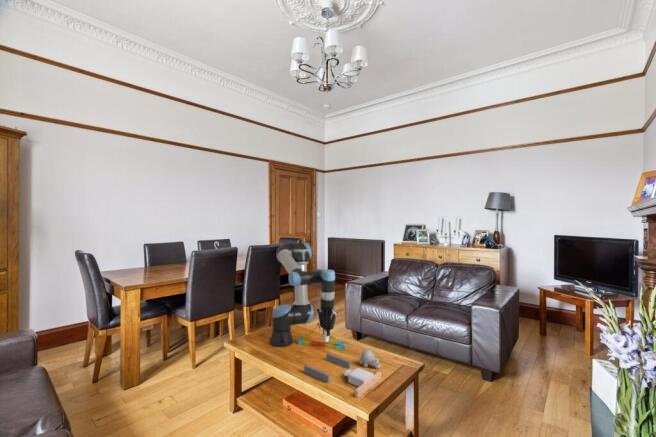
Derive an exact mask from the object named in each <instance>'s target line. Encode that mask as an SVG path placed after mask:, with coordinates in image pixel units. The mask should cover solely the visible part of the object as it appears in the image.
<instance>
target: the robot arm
mask: <svg viewBox="0 0 656 437" xmlns="http://www.w3.org/2000/svg"><path fill="white" fill-rule="evenodd" d="M275 255H276V256H275V257H276V259H277V261H278V262H279V263H281V264H282V266H283V267H284V269H285V270H286V273H288V283H289V285H290V286H292V287H294V302H293V303H292V306H291V305H290V304H279V305H277V306H275V307H274V308H273V310H272V331H271V334H270V338H269V345H271V346H272V347H278V348H284V347H288V346H291V345H293V343H294V336H293V333H292V330H291V327H292V326H295V325H305V324H308V323H311V322H312V320H313V318H314V311H315V310H314V306H313V305H312V304H311V302H310V301H309V298H308V296H309V295H308V285H309V286H310V285H320V304H319V305H320V308H317V309H316V313H317V314H318V320H319V321H318V322H319V325H320V328H322V335H323V343H328V342H329V341H330V339H329V336H331V331H332V330H334V328H335V323H336V320H337V316H338V315H339V313H337V312H336V311H335V308H334V306H335V295H336V294H335V289H336V273H335V270H333V269H321V268H316V269H314V270H308V268H307V267H308V264H309V262H310V260H311V259H312V255H313V254H312V247H311V246H310V244H309V243H307V242H284V243H283V244H281V245H280V246H278V248H277V249H276V254H275Z"/></svg>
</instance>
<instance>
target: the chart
mask: <svg viewBox="0 0 656 437" xmlns="http://www.w3.org/2000/svg"><path fill="white" fill-rule="evenodd" d="M317 327H318V330H319V331H318V332H319V333H320V334H319V335H320V337H324V335H323V331H322V329H321V327H320V322H319V321H318V322H317V323H316V325H315V328H314V330H313V331H312V330H311V331H310V330H306V332H305V333H304V335H303V337H302V336H298V338H297V339H298V342H297V345H299V346H311V347H320V348H327V349H336V350H337V349H338V350H346V340H344V341H338V339H337V338H336V336H335V334H332V335H330V336H329V340H330V339H331V338H333V340H334V341H335V343H331V342H330V343H328V342H319V341H311V340H304V338H305V337H306V336H305V335H307V334H309V335H310V334H314V333H315V332H316V329H317Z"/></svg>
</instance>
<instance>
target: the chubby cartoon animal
mask: <svg viewBox="0 0 656 437" xmlns="http://www.w3.org/2000/svg"><path fill="white" fill-rule="evenodd" d="M379 359H380V357H377V358H376V357H375V354H374V353H373V351H372V350H371V349H364V350H363V351H362V352H361V356H360V357H359V359H358V363H359V364H360V365H361V364H362V365H363V367H364V368H368V367H369V366H370V364H371V365H372V366H373V367H374V368H375V369H376V370H379V369H380V367H381V366H382V364H380V363H379V362H380V361H379Z"/></svg>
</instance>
